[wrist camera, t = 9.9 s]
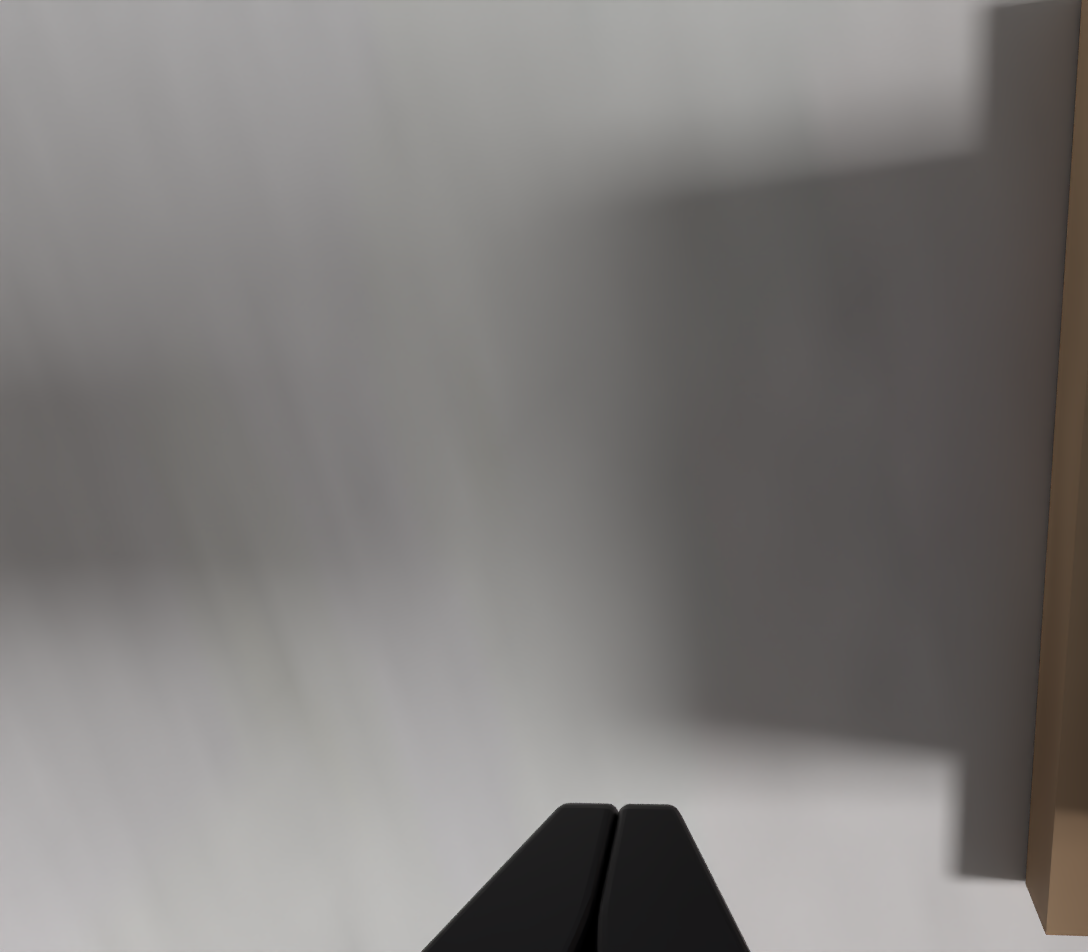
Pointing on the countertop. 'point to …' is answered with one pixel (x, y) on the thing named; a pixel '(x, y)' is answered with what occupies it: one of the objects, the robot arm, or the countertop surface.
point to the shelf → (1066, 590)
